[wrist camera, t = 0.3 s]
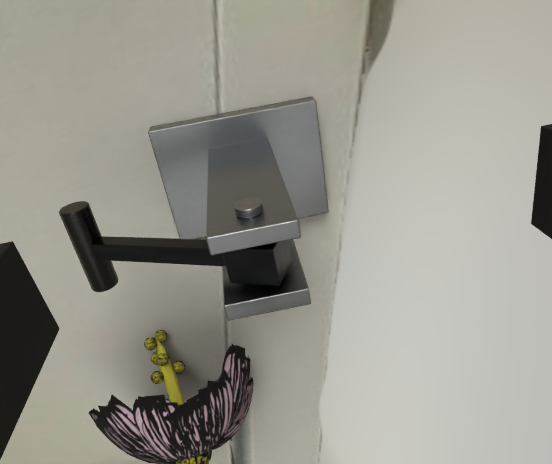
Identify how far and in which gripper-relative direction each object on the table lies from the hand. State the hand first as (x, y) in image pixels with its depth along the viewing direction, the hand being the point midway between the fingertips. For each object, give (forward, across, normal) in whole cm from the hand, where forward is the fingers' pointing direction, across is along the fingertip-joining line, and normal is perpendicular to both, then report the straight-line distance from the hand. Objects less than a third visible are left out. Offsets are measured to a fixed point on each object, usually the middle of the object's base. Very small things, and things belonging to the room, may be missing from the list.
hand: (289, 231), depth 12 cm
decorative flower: (+24, -11, -25) cm, 36 cm away
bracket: (+24, -1, -7) cm, 25 cm away
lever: (+14, -6, -7) cm, 16 cm away
